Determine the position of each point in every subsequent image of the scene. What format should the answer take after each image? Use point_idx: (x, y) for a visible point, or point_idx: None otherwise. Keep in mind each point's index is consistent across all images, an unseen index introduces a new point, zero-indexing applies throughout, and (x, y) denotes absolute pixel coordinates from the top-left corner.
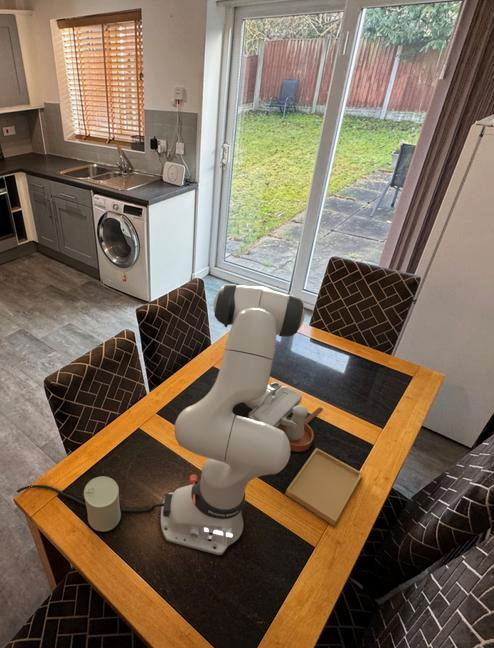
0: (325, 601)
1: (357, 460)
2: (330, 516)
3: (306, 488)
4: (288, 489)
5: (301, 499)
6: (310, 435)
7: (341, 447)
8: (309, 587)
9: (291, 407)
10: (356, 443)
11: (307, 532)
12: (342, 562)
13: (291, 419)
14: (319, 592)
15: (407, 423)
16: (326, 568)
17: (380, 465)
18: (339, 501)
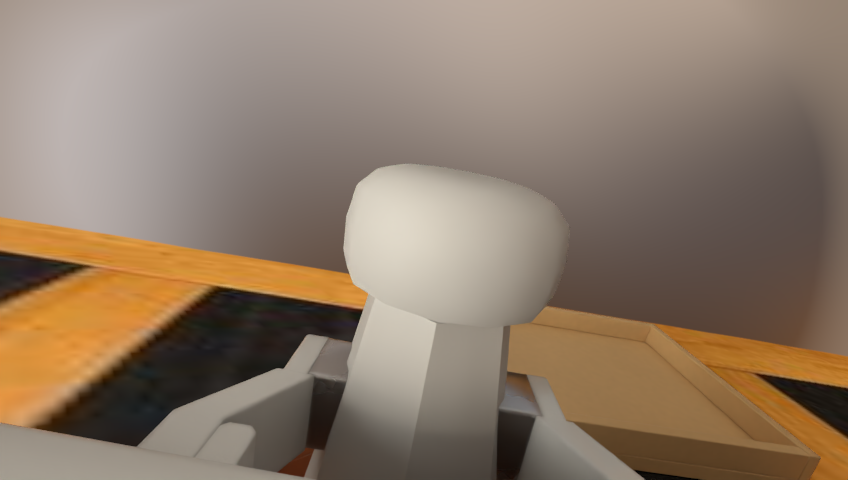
0: (791, 347)
1: (335, 315)
2: (661, 332)
3: (660, 414)
4: (805, 450)
5: (745, 399)
6: (294, 468)
7: (287, 352)
8: (827, 369)
9: (243, 468)
10: (229, 317)
11: (758, 392)
12: (689, 332)
13: (461, 475)
14: (799, 356)
15: (46, 230)
16: (746, 351)
17: (317, 280)
18: (568, 335)
